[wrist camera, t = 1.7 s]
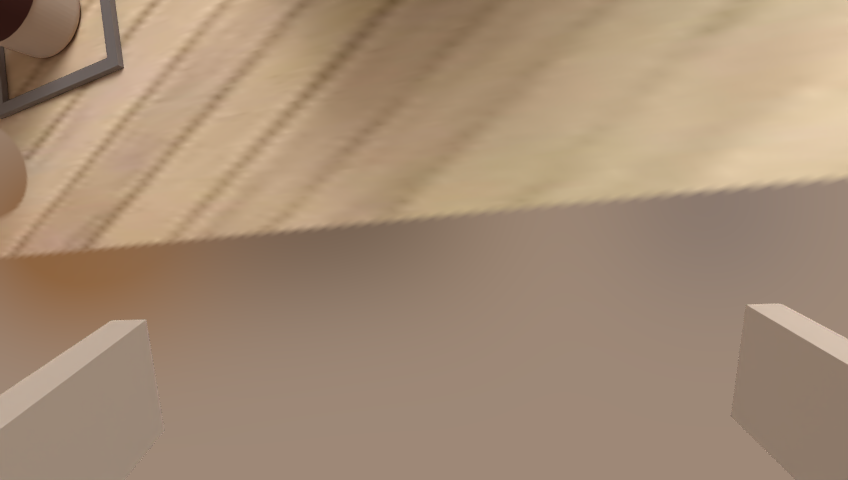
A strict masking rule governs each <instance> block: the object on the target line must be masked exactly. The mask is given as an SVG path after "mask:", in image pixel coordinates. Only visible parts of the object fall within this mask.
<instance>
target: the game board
mask: <svg viewBox="0 0 848 480" xmlns="http://www.w3.org/2000/svg"><path fill="white" fill-rule="evenodd" d="M100 4H101V12H102V20H103V28H104V36H105V44H106V52H107V58H106V59H103V60H101V61H99V62H96V63H94V64H92V65H89V66H87V67H85V68H82V69H80V70H78V71H76V72H73V73H71V74H69V75H66V76H64V77H62V78H59V79H57V80H55V81H52V82H50V83H48V84H45V85H43V86H41V87H39V88H36V89H34V90H32V91H29V92H27V93H25V94H22V95H20V96H18V97H15V98H13V99H11V100H8V90H7V80H6V70H5V59H4V49H3V47H2V46H0V118H1V119H2V118H5V117H7V116H10V115H12V114H14V113H17V112H19V111H21V110H24V109H26V108H29V107H31V106H33V105H36V104H38V103H40V102H43V101H45V100H48V99H50V98H52V97H55V96H57V95H60V94H62V93H64V92H67V91H69V90H71V89H74V88H76V87H79V86H81V85H83V84H86V83H88V82H90V81H93V80H95V79H98V78H100V77H102V76H105V75H107V74H109V73H112V72H114V71H117V70H119V69H121V68H124V67H123V60H122V52H121V44H120V37H119V29H118V21H117V14H116V6H115V0H100Z"/></svg>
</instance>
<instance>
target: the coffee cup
mask: <svg viewBox="0 0 848 480" xmlns="http://www.w3.org/2000/svg"><path fill="white" fill-rule="evenodd" d="M79 17H80V3H79V0H0V46H2V47H5V48H8V49H11V50H14V51H17V52H20V53H23V54H26V55H29V56H32V57H36V58H47V57H51V56H54V55H56V54H57V53H59V52H60V51H61V50H63V49H64V48H65V47H66V46H67V45H68V43H69V42H70V41H71V39H72V37H73V36H74V34H75V31H76V29H77V26H78V23H79Z"/></svg>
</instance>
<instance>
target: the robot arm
mask: <svg viewBox="0 0 848 480" xmlns="http://www.w3.org/2000/svg"><path fill="white" fill-rule="evenodd" d="M731 417H732V418H733V419H734V420H735V421H736V422H737V423H738V424H739V425H740V426H741V427H742V428H743V429H744V430H745V431H746V432H747V433H748V434H749V435H750V436H752V438H753V439H754V440H755V441H757V443H759V444H760V445H761V446H762V447H763V448H764V449H765V450H766V451H767V452H768V453H769V454H770V455H771V456H772V457H773V458H774V459H775V460H776V461H777V462H778V463H779V464H780V465H781V466H782V467H783V468H784V469H785V470H786V471H787V472H788V473H789V474H790V475H791V476H792V477H793V478H794V479H795V480H848V339H847V338H845V337H843V336H841V335H839V334H837V333H835V332H833V331H832V330H830V329H828V328H826V327H824V326H822V325H820V324H818V323H817V322H814V321H813V320H811V319H809V318H807V317H805V316H803V315H801V314H800V313H798V312H796V311H794V310H792V309H790V308H788V307H786V306H784V305H783V304H747V305H746V307H745V315H744V322H743V330H742V337H741V344H740V352H739V359H738V367H737V374H736V381H735V389H734V396H733V404H732V412H731ZM163 432H164V424H163V418H162V412H161V406H160V401H159V394H158V387H157V382H156V375H155V370H154V364H153V358H152V352H151V345H150V339H149V334H148V328H147V321H146V320H112V321H110V322H108V323H107V324H105V325H104V326H102V327H101V328H99V329H98V330H96V331H95V332H93V333H92V334H90V335H89V336H87V337H86V338H84V339H83V340H81V341H80V342H78V343H77V344H75V345H74V346H72V347H71V348H69V349H68V350H66V351H65V352H63V353H62V354H60V355H59V356H57V357H56V358H54V359H53V360H51V361H50V362H49V363H47V364H45V365H44V366H42V367H41V368H39V369H38V370H36V371H35V372H33V373H32V374H30V375H29V376H28V377H26V378H24V379H23V380H21V381H20V382H18V383H17V384H15V385H14V386H13V387H11V388H10V389H8V390H7V391H5V392H4V393H2V394H1V395H0V480H125V479H126V478H127V476H128V475H129V474H130V473H131V471H132V470H133V469H134V468H135V467H136V465H137V464H138V463H139V462H140V460H141V459H142V458H143V457H144V455H145V454H146V453H147V451H148V450H149V449H150V448H151V447H152V446H153V444H154V443H155V442H156V440H157V439H158V438H159V437H160V435H161V434H162V433H163Z"/></svg>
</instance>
